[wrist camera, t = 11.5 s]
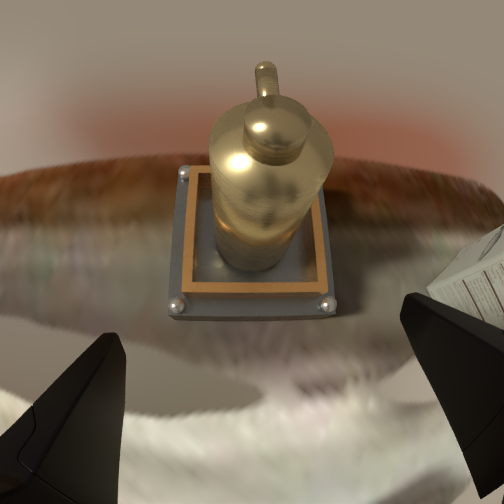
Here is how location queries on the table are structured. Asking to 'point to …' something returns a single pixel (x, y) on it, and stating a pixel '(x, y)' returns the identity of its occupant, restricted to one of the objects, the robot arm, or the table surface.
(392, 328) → the table surface
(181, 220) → the grey square tray
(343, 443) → the table surface
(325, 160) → the spout can
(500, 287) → the supplement box
